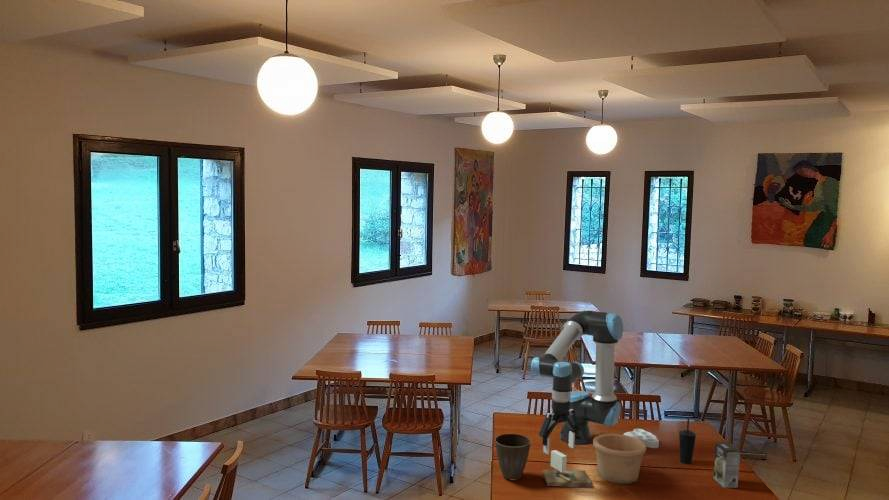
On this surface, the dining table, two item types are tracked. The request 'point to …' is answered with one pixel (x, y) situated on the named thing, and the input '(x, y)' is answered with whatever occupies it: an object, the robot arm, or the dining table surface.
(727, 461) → the coffee box
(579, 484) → the brown flat rectangular block
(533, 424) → the dining table surface
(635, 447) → the pottery
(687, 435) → the drinking cup
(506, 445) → the plant pot
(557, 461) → the white slab
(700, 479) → the dining table surface
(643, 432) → the knuckle duster
